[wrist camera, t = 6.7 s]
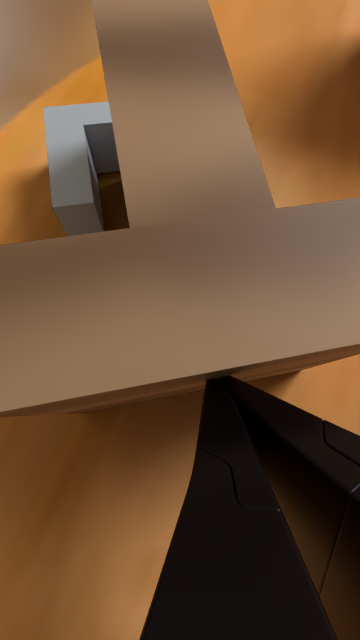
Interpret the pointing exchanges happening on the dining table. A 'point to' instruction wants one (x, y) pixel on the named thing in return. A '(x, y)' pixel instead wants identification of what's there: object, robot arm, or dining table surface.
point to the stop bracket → (79, 163)
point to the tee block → (176, 244)
